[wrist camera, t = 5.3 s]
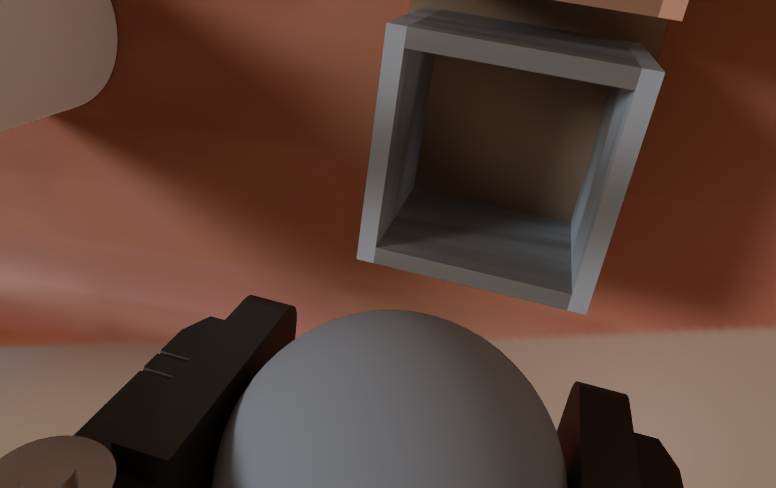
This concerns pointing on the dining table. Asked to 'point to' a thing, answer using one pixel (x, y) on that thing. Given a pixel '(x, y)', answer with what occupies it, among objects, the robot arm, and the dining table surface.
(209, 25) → the dining table surface
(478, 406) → the ball slate
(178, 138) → the dining table surface
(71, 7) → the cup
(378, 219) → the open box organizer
